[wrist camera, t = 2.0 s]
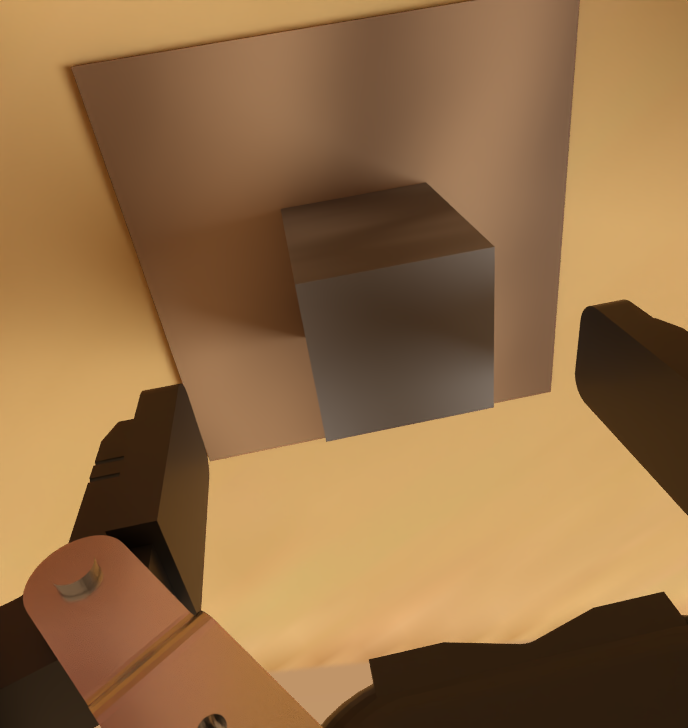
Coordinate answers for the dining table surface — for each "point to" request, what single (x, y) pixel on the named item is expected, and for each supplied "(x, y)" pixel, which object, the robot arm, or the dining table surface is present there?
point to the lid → (349, 214)
